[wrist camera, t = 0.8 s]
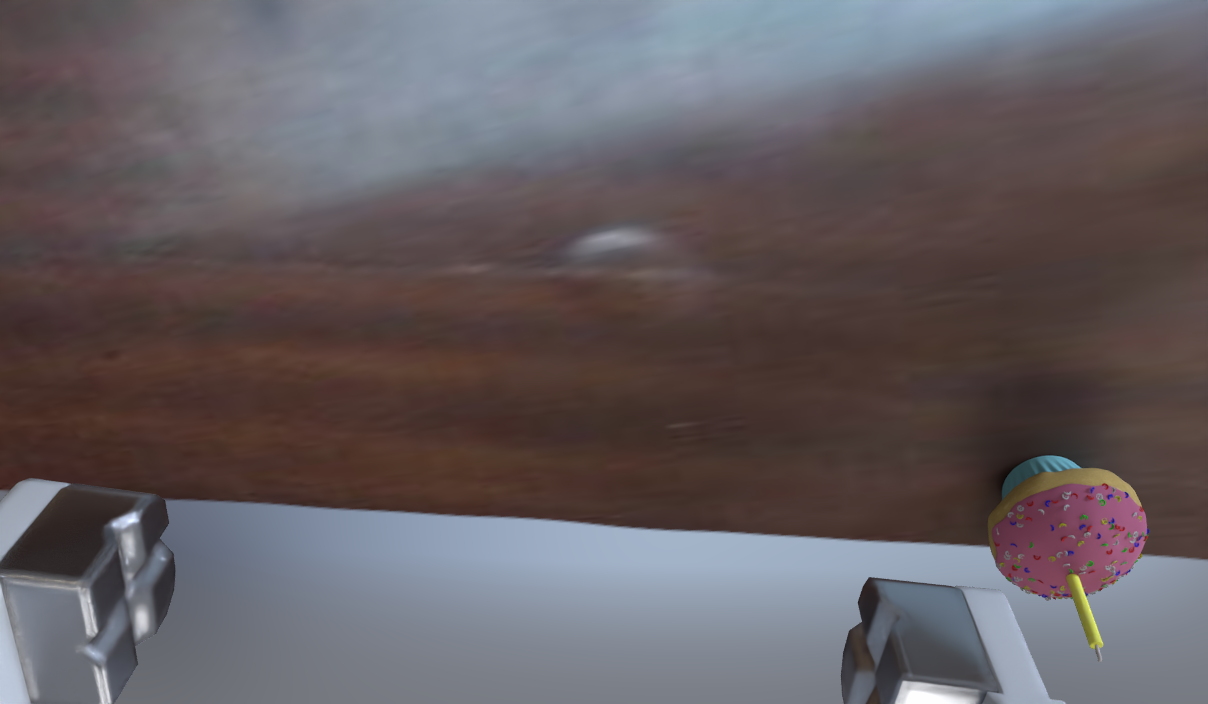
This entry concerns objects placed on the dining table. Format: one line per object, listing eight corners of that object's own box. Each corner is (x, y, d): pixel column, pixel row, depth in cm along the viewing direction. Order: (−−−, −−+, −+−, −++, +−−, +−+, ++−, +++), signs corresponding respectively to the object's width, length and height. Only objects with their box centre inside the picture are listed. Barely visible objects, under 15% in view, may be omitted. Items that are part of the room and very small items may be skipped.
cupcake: (1084, 547, 64) (1165, 700, 53) (950, 530, 64) (1005, 680, 53) (1136, 436, 59) (1236, 579, 49) (992, 418, 59) (1062, 557, 49)
